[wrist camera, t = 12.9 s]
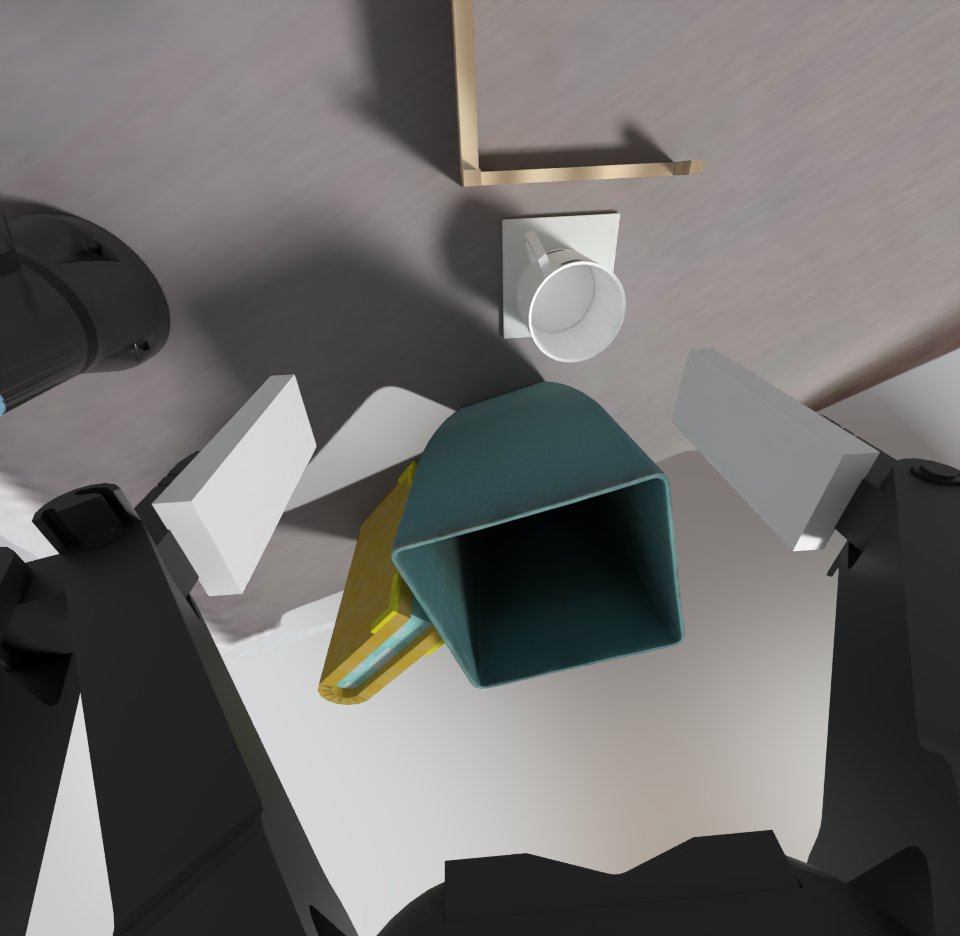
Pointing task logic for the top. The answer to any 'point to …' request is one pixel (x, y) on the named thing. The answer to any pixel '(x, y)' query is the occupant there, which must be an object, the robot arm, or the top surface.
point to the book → (376, 612)
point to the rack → (475, 177)
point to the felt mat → (562, 232)
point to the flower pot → (540, 538)
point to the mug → (569, 302)
